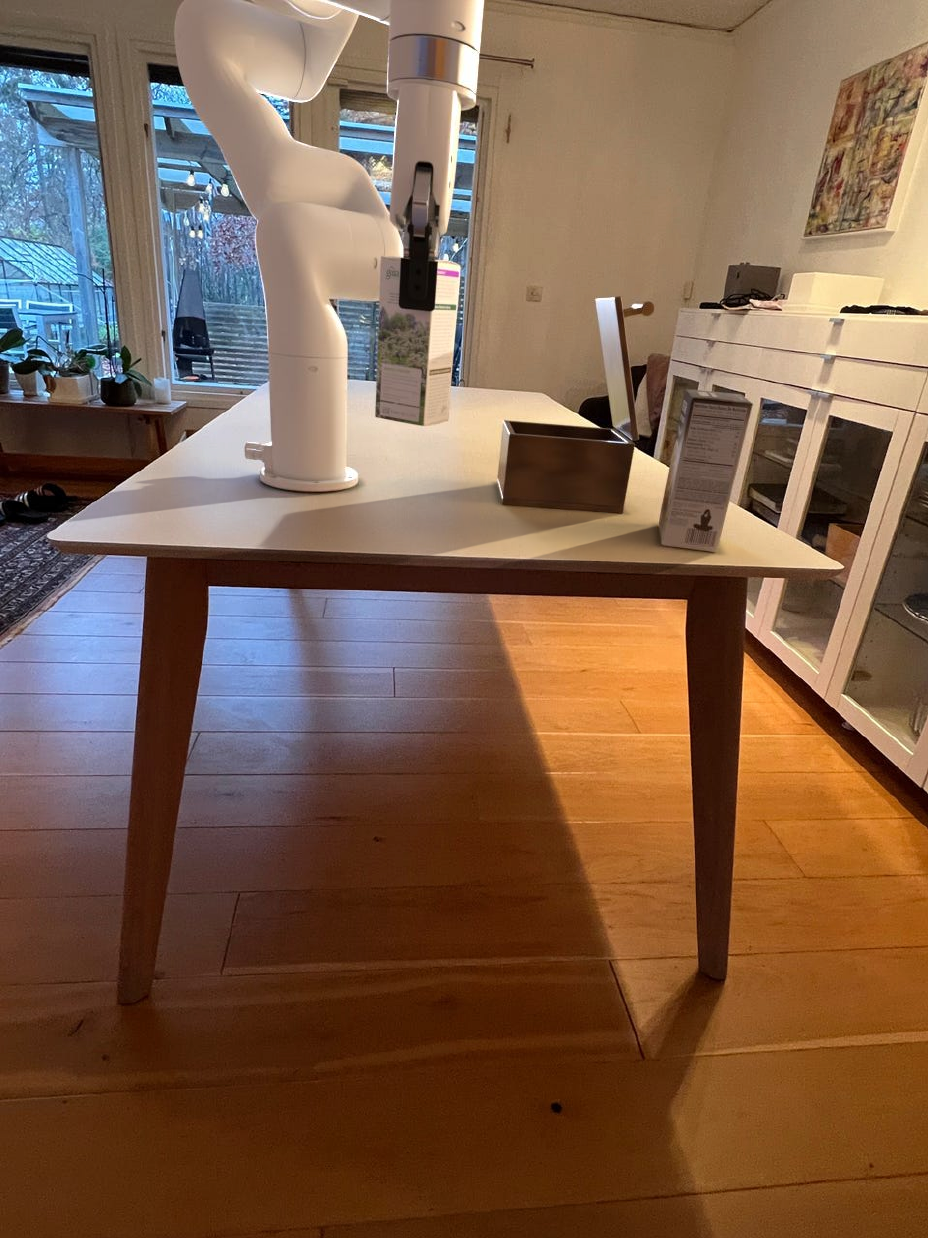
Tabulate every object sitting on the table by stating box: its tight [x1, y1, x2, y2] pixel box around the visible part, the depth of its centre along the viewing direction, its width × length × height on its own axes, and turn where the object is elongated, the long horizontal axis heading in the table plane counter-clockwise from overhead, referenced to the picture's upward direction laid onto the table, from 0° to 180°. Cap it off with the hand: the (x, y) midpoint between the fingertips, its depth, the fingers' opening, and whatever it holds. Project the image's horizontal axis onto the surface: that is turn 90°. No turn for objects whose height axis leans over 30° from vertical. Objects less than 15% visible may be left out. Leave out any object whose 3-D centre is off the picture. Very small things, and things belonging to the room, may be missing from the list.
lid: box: [595, 295, 656, 442], centre depth 87 cm, size 16×12×5 cm
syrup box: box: [374, 256, 461, 427], centre depth 67 cm, size 6×6×14 cm
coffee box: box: [658, 388, 754, 553], centre depth 77 cm, size 9×6×16 cm
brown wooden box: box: [496, 419, 636, 514], centre depth 92 cm, size 16×12×9 cm
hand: (419, 307), depth 65 cm, fingers closed on syrup box, 7 cm apart
